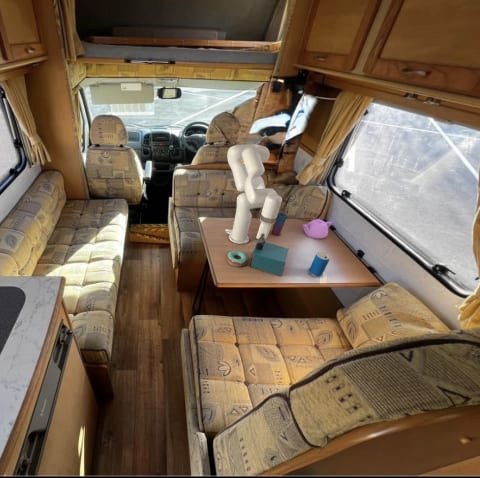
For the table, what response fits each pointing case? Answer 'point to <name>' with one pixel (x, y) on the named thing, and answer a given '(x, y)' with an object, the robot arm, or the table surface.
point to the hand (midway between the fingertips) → (260, 246)
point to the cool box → (267, 265)
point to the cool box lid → (272, 252)
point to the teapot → (317, 228)
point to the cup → (279, 223)
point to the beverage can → (319, 264)
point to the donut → (237, 262)
